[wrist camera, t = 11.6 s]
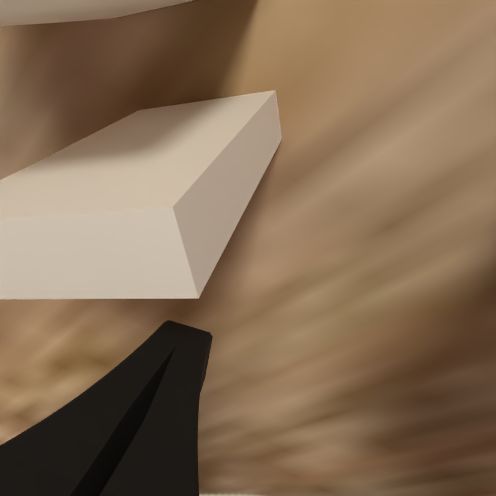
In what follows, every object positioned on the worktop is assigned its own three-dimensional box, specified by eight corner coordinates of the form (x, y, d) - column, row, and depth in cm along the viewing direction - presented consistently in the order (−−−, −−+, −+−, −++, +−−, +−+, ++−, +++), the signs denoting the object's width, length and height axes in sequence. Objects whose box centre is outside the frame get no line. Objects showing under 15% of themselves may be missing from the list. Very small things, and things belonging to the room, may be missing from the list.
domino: (282, 139, 14) (198, 298, 6) (151, 153, 15) (-43, 299, 8) (275, 90, 13) (173, 207, 6) (139, 110, 15) (-90, 225, 7)
